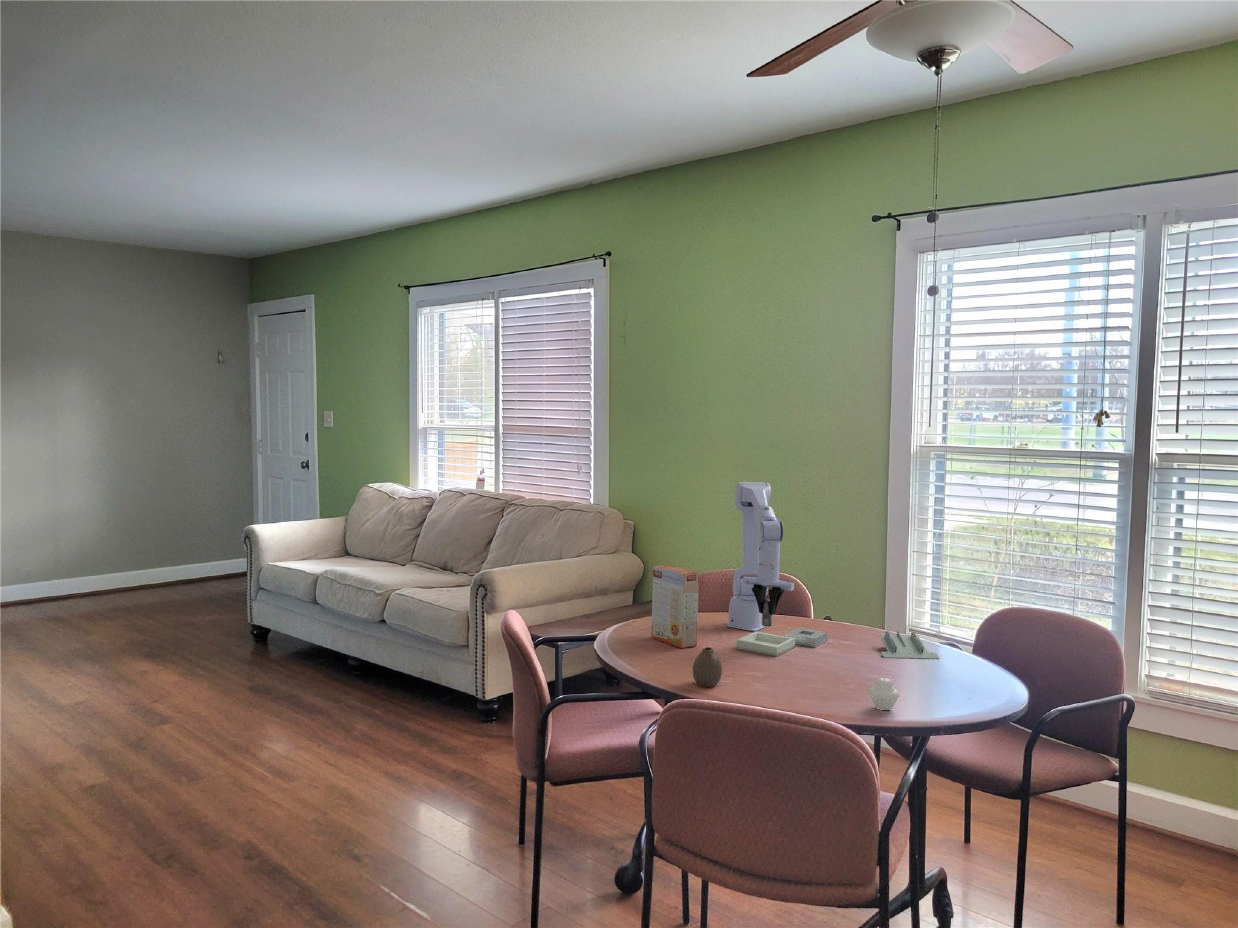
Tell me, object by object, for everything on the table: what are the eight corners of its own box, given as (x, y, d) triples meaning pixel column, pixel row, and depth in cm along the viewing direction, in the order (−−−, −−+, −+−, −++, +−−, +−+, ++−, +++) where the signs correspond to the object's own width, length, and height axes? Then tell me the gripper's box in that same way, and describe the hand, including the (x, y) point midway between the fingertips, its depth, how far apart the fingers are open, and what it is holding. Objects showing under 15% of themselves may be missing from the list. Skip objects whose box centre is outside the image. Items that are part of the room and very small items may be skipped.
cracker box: (698, 646, 240) (700, 571, 239) (680, 649, 237) (683, 573, 235) (667, 635, 252) (669, 563, 250) (650, 637, 248) (652, 565, 247)
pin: (760, 625, 240) (761, 600, 239) (764, 623, 242) (765, 598, 241) (768, 627, 238) (769, 601, 238) (773, 625, 240) (774, 600, 240)
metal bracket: (871, 626, 245) (924, 627, 245) (868, 644, 247) (921, 645, 247) (886, 654, 231) (942, 655, 232) (883, 673, 233) (939, 674, 234)
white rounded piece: (867, 710, 191) (869, 679, 190) (870, 702, 196) (871, 671, 196) (897, 715, 189) (898, 683, 188) (899, 706, 194) (900, 675, 194)
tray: (736, 648, 239) (736, 639, 238) (755, 639, 248) (755, 631, 248) (776, 656, 232) (777, 647, 232) (794, 647, 242) (795, 638, 242)
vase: (713, 691, 202) (714, 654, 201) (687, 685, 205) (688, 649, 205) (726, 683, 207) (727, 647, 207) (700, 678, 211) (701, 642, 211)
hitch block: (785, 641, 247) (785, 633, 247) (797, 635, 254) (798, 627, 254) (815, 647, 242) (815, 638, 242) (827, 640, 249) (827, 632, 249)
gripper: (738, 563, 240) (736, 611, 240) (787, 569, 231) (785, 619, 232) (749, 559, 245) (748, 607, 246) (798, 565, 237) (796, 615, 238)
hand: (767, 613), depth 240 cm, fingers closed on pin, 3 cm apart
